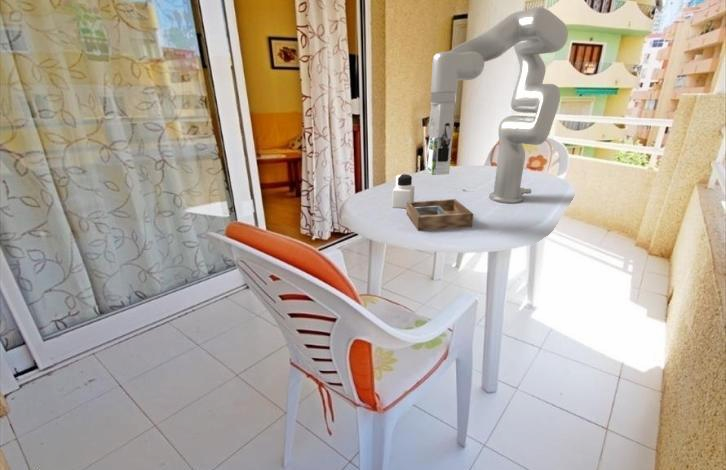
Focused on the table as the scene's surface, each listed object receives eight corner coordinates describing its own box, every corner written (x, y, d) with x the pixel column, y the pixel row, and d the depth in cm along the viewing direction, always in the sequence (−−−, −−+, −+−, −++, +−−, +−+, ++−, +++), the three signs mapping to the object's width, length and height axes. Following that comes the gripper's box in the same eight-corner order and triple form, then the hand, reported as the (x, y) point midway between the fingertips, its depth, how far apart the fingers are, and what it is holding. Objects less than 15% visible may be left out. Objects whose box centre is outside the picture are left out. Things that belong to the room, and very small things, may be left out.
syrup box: (427, 171, 112) (429, 125, 106) (444, 170, 112) (447, 125, 107) (432, 175, 107) (434, 127, 101) (450, 174, 107) (454, 126, 102)
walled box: (454, 210, 125) (455, 199, 123) (471, 226, 110) (473, 213, 108) (406, 214, 123) (406, 202, 121) (417, 230, 108) (418, 217, 107)
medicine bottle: (414, 203, 134) (414, 173, 130) (410, 209, 128) (411, 178, 123) (396, 202, 137) (396, 172, 132) (392, 207, 130) (392, 177, 126)
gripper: (422, 98, 108) (420, 155, 115) (440, 99, 93) (436, 165, 100) (445, 98, 109) (441, 154, 116) (467, 98, 93) (460, 164, 100)
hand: (439, 159), depth 108 cm, fingers closed on syrup box, 5 cm apart
